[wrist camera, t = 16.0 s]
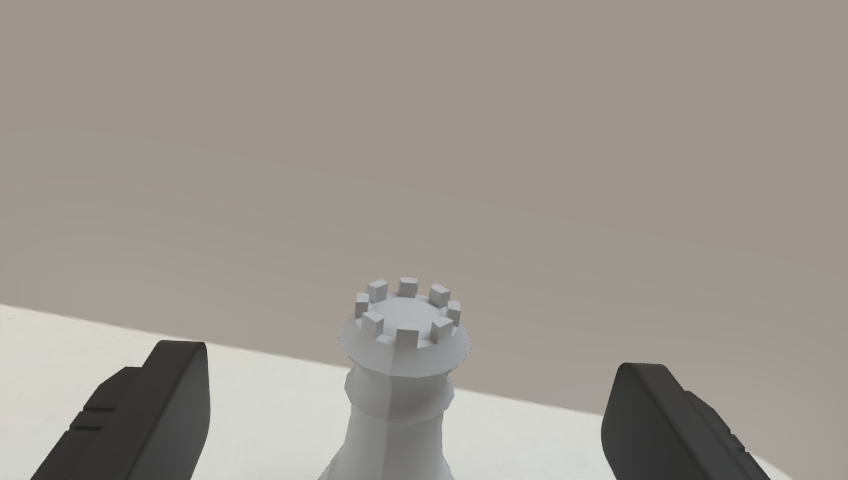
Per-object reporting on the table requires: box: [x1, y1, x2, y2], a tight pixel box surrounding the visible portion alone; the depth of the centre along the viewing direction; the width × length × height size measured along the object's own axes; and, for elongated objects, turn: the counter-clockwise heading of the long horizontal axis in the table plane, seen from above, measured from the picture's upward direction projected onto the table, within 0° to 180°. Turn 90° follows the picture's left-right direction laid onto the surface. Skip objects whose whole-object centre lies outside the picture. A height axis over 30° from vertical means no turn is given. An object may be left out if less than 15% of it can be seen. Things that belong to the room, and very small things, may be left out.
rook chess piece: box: [318, 277, 471, 480], centre depth 15 cm, size 4×4×8 cm
